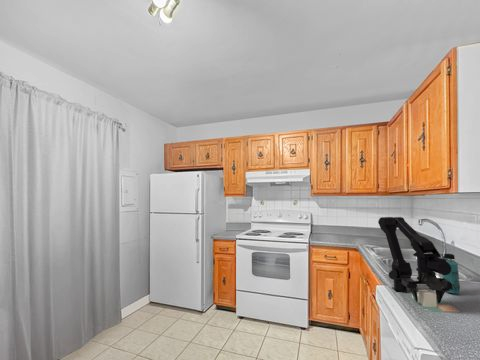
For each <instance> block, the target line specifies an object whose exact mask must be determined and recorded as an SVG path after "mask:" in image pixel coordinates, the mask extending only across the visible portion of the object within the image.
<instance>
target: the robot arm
mask: <svg viewBox="0 0 480 360" xmlns="http://www.w3.org/2000/svg"><path fill="white" fill-rule="evenodd" d="M378 225H379V228H380V230H381V231H382V232H383V233H384V234H385V237H386V240H387V244H388V247H389V251H390V254H391V258H392V263H391V270H390V272H388V277H389V279H391V280H393V286H391V289H392V290H393V291H394V292H396V293H397V292H405V294H411V296H412V295H413V297H414V299H415V301H416V302H418V297H417V292H418V290H419V288H417V287H418V286H427V287H428V290H431V291H433V292H434V291H435V293H436V298H437V302H438V303H440V302H441V300H442V299H443V296H444V295H445V293H446V292H447V291H450V290H449V289H453V285H452V283H451V282H449V281H447V280H446V279H445V278H443V277H437V274H440V275H442V276H443V275H448V274H449V273H450V272H451V266H450V264H449V263H448V262H446V260H447V259H446V258H444V257H441V254H440V252H439V251H438V249H437V248H436V246H435V244H434V243H433V242H432V241H431V240H430V239H428V238H427V237H425V236H422V235H420V234H419V233H418V232H417V231H416V230H415V228H413V227H411V225H410V224H409V223H408V222H407V221H406V220H405V218H404V217H402V216H384V217H383V216H382V217H381V216H380V217H379V219H378ZM397 228H398V230H399V231H400V232H401V233H402V235H404V236H405V238H407V239H408V240H409V243H410V246H411V248H412V249H413V251H415V252H414V253H412V255H413V257H416V263H417V267H416V268H415V271H417V275H418V276H416V280H414V279H412V275H413V269H412V267H411V263H410V262H407V261H406V260H405V259H404V255H403V252H402V249H401V245H400V242H399V239H398V236H397ZM436 273H437V274H436ZM447 293H448V292H447ZM416 302H415V303H416Z"/></svg>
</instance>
